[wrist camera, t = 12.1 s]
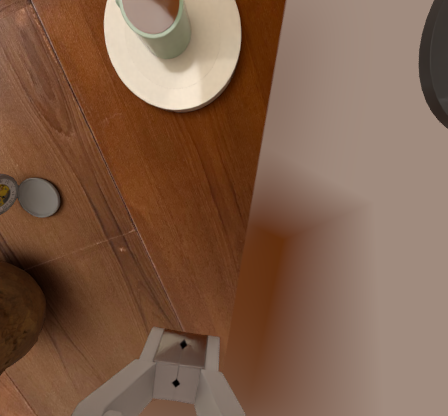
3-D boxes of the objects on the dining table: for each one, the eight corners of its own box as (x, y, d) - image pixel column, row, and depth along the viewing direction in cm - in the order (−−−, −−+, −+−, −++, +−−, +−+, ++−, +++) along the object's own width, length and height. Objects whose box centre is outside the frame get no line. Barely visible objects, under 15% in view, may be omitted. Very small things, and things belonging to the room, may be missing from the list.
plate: (252, -20, 30) (254, -35, 27) (227, 122, 34) (227, 120, 32) (115, -49, 29) (106, -67, 27) (110, 100, 34) (101, 96, 31)
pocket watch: (68, 210, 38) (16, 232, 29) (24, 221, 39) (-42, 246, 29) (47, 163, 36) (-17, 169, 27) (1, 176, 37) (-79, 186, 27)
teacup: (195, 4, 28) (187, -33, 23) (187, 63, 30) (178, 43, 24) (134, -9, 28) (110, -50, 22) (130, 52, 30) (107, 29, 24)
